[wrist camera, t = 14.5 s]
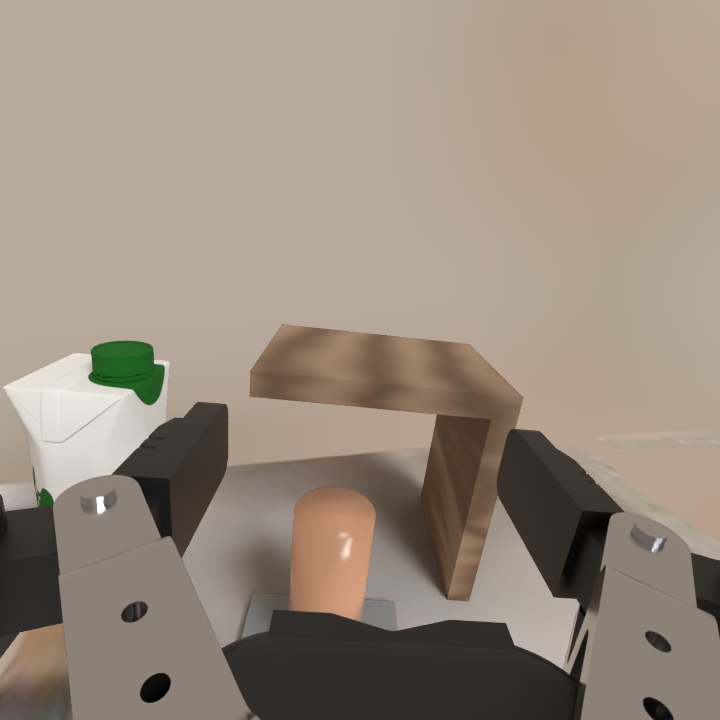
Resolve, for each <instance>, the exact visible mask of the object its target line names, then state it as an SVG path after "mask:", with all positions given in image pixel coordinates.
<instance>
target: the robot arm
mask: <svg viewBox="0 0 720 720" xmlns="http://www.w3.org/2000/svg"><path fill="white" fill-rule="evenodd" d="M227 461H228V408H227V405H226V404H218V403H205V402H197V403H196V404H195V405H194V406H193V408H192V409H191V410H190V411H189V412H188V413H187V414H186V415H185V417H184V418H173V419H172V420H170V421H168V422H166V423H164V424H162V425H160V426H158V427H157V428H156V429H155V430H154V431H153V432H152V433H151V434H150V435H149V436H148V439H145V440H144V441H143V442H142V443H141V445H140V446H139V448H137V449H136V450H135V451H134V452H133V453H132V454H131V455H130V456H129V457H128V458H127V459H126V460H125V461H124V462H123V463H122V464H121V465H120V466H119V467H118V468H117V469H116V470H115V471H114V472H113V473H112V474H111V475H105V476H99V477H94V478H90V479H87V480H84V481H81V482H79V483H77V484H75V485H73V486H71V487H69V488H68V489H66V490H65V491H64V492H62V493H61V494H60V495H59V496H58V497H57V499H56V500H55V502H54V504H53V505H52V506H45V507H38V508H30V509H22V510H14V511H7V512H5V508H4V503H3V498H2V496H1V495H0V658H1V656H2V655H3V654H4V652H5V651H6V650H7V648H8V647H9V646H10V645H11V643H12V642H13V641H14V639H15V638H16V637H17V635H18V634H19V632H23V631H28V630H32V629H37V628H41V627H46V626H51V625H55V624H60V623H63V626H64V636H65V646H66V655H67V665H68V675H69V684H70V694H71V704H72V713H73V720H720V561H719V560H715V559H711V558H708V557H704V556H701V555H697V554H693V553H691V552H690V549H689V547H688V545H687V544H686V543H685V542H684V540H683V539H682V538H680V537H679V536H678V535H677V534H676V533H675V532H673V531H672V530H670V529H669V528H667V527H666V526H664V525H662V524H660V523H658V522H656V521H654V520H652V519H650V518H647V517H644V516H641V515H637V514H633V513H626V512H624V511H623V510H622V509H621V508H620V507H619V506H618V504H617V503H616V502H615V501H614V500H613V499H612V498H611V497H610V496H609V495H608V494H607V493H606V492H605V491H604V490H603V489H602V488H601V487H600V486H599V485H598V484H596V483H595V481H594V480H593V479H592V478H591V477H590V476H589V474H586V471H585V470H584V469H583V468H582V467H581V466H580V465H579V464H578V463H577V462H576V461H575V460H574V459H572V458H570V457H569V456H567V455H566V454H564V453H563V452H561V451H559V450H558V449H556V448H555V447H554V446H553V445H552V443H551V442H550V441H549V440H548V439H547V438H546V437H545V436H544V435H543V434H542V433H541V432H540V431H533V430H521V429H511V430H510V431H509V433H508V435H507V438H506V442H505V446H504V450H503V454H502V458H501V462H500V467H499V471H498V475H497V492H498V496H499V498H500V500H501V502H502V504H503V506H504V508H505V509H506V511H507V513H508V515H509V517H510V518H511V520H512V522H513V524H514V526H515V528H516V529H517V531H518V533H519V535H520V537H521V538H522V540H523V542H524V544H525V546H526V548H527V549H528V551H529V553H530V555H531V557H532V558H533V560H534V562H535V564H536V566H537V568H538V569H539V571H540V573H541V575H542V577H543V578H544V580H545V582H546V584H547V586H548V588H549V589H550V591H551V593H552V595H553V597H556V598H572V599H577V600H578V602H579V603H580V604H579V607H578V610H577V612H576V615H575V619H574V623H573V628H572V632H571V636H570V640H569V645H568V649H567V653H566V658H565V662H564V666H563V669H561V668H559V667H558V666H556V665H555V664H553V663H552V662H550V661H548V660H546V659H545V658H543V657H541V656H539V655H537V654H535V653H533V652H530V651H528V650H526V649H523V648H521V647H518V646H514V643H513V640H512V638H511V635H510V633H509V630H508V628H507V625H506V623H495V622H478V621H461V620H447V621H442V622H437V623H432V624H428V625H423V626H418V627H413V628H408V629H404V630H399V631H390V630H385V629H382V628H379V627H376V626H372V625H369V624H366V623H363V622H359V621H356V620H353V619H350V618H346V617H343V616H340V615H337V614H333V613H323V612H306V611H289V610H273V613H272V618H271V623H270V628H269V631H265V632H260V633H257V634H254V635H250V636H247V637H244V638H242V639H240V640H237V641H235V642H233V643H231V644H229V645H227V646H225V647H223V648H222V649H221V647H220V645H219V643H218V641H217V638H216V636H215V634H214V631H213V629H212V627H211V625H210V622H209V620H208V618H207V616H206V613H205V611H204V609H203V607H202V604H201V602H200V600H199V598H198V595H197V593H196V591H195V589H194V586H193V584H192V582H191V580H190V577H189V575H188V573H187V571H186V568H185V566H184V564H183V562H182V559H181V558H182V556H183V554H184V553H185V551H186V549H187V547H188V545H189V543H190V541H191V539H192V537H193V535H194V533H195V531H196V529H197V527H198V525H199V523H200V521H201V520H202V518H203V516H204V514H205V512H206V510H207V508H208V506H209V504H210V502H211V500H212V498H213V496H214V494H215V492H216V490H217V488H218V487H219V485H220V483H221V481H222V479H223V477H224V474H225V471H226V467H227Z"/></svg>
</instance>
